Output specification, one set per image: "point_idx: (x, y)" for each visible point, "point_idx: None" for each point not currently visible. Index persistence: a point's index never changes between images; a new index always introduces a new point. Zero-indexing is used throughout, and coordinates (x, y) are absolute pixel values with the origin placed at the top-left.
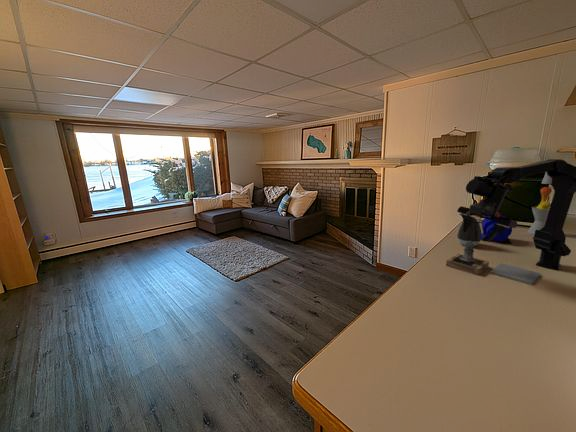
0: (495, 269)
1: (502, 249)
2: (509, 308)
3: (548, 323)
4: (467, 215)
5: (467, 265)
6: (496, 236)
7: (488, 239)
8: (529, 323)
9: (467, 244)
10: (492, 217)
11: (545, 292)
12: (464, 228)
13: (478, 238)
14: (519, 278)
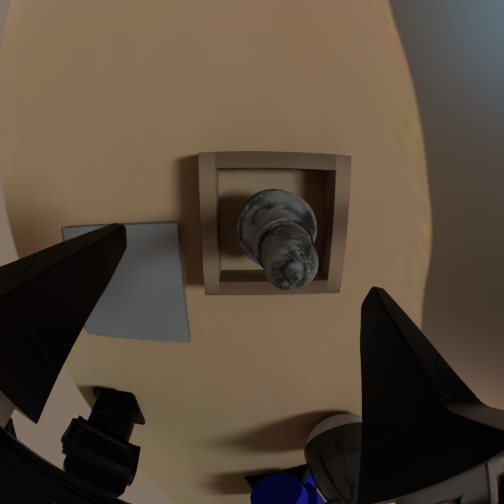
0: (172, 261)
1: (244, 447)
2: (75, 15)
3: (21, 38)
4: (462, 478)
5: (253, 163)
6: (277, 484)
7: (112, 227)
8: (46, 3)
9: (299, 239)
10: (18, 497)
11: (36, 201)
12: (394, 311)
13: (311, 450)
14: None
